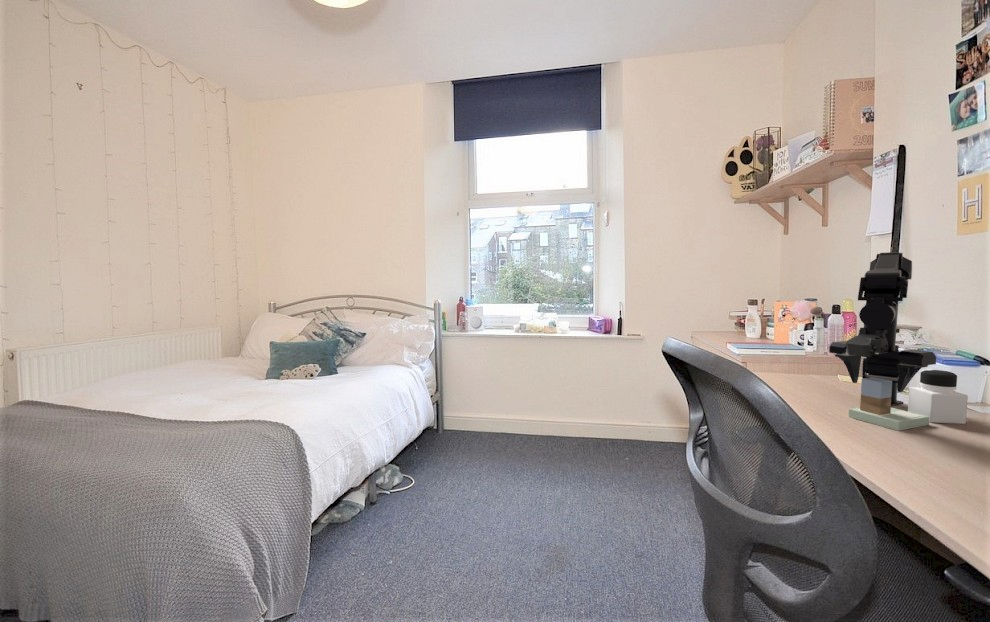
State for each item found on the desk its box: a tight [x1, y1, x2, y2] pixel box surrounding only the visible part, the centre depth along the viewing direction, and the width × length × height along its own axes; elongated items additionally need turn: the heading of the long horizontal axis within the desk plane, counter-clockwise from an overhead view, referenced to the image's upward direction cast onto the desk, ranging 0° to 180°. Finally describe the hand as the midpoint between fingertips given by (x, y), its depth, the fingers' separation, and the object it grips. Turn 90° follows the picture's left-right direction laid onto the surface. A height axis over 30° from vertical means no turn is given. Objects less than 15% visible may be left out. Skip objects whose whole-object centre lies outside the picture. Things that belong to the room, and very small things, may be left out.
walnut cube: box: [859, 394, 892, 415], centre depth 99 cm, size 4×4×4 cm
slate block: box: [860, 377, 892, 399], centre depth 99 cm, size 4×4×4 cm
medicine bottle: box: [907, 369, 969, 425], centre depth 99 cm, size 7×7×12 cm
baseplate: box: [848, 407, 930, 432], centre depth 98 cm, size 11×10×2 cm
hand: (876, 387), depth 99 cm, fingers open, 9 cm apart
